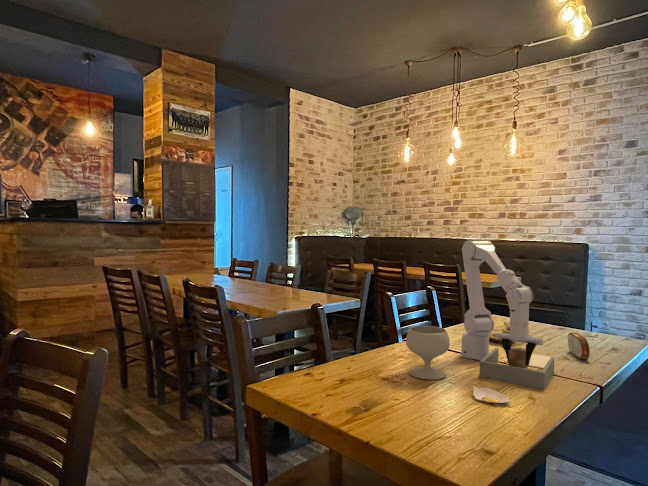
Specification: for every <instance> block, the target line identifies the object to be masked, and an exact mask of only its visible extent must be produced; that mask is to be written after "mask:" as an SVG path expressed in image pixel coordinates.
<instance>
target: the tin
mask: <svg viewBox="0 0 648 486" xmlns="http://www.w3.org/2000/svg"><path fill="white" fill-rule="evenodd" d="M567 344H568V345H567V347H568V350H569V352H570V353H571V355H573V356H575V357H576V358H577V359H578V360H589V358H590V356H591V355H590V353H591V351H590V345H589V342H588V339H587V338H586V337H585V336H583V335H582V334H580V333H579V332H569V333H568V335H567Z"/></svg>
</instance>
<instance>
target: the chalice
mask: <svg viewBox="0 0 648 486" xmlns="http://www.w3.org/2000/svg"><path fill="white" fill-rule="evenodd" d="M405 343H406V347H407V349H408V350H409V351H410V352H412V353H413V354H415V355H416V356H418V357H420V358H421V360H423V362H424V366H418V367H412V368H410V369H409V370H408V374H409V375H410V376H412V377H414V378H417V379H422V380H430V381H431V380H433V381H435V380H436V381H437V380H442V379H444V378H446V376H447V373H446V372H445V371H443V370H441V369H439V368H436V367H432V366H431V362H432V361H433V360H434V359H435V358H437V357H440V356H442V355H443V354H446V353H447V352H448V351H449V349H450V346H451V344H450V343H451V342H450V336H449V334H448V331H447V330H446V329H445V328H444V327H439V326H435V325H414V326H411V327H410V328H409V329H408V331H407V334H406V339H405Z"/></svg>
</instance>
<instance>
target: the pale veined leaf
mask: <svg viewBox="0 0 648 486" xmlns="http://www.w3.org/2000/svg"><path fill="white" fill-rule="evenodd" d="M472 387H473V397H474V398H475V400H478V401H480V402H481V401H482V402H487V403H488V401H486V400H482V399H483V398H488V399H492V400H498V402H497V401H495V402H494V401H489V404H490V403H492V404H513V401H511V399H510V398H509V397H508V396H507V395H505V394H504V393H500V392H499V391H497V390H495V389H493V388H488V387H477V386H474V385H472Z"/></svg>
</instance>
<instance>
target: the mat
mask: <svg viewBox="0 0 648 486" xmlns="http://www.w3.org/2000/svg"><path fill="white" fill-rule="evenodd" d="M551 357H552V356H548V355H540V354H537V353H536V354H535V353H532V355H531V358H530V362H529V365H528V367H531V368H537V369H541V370H543V368H544V367H545V365H546V364H547V362H548V361H549V359H550V358H551ZM503 362H504V363H507V364H509V362H508V361H507V357H506V358H505V359H504V360H503Z"/></svg>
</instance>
